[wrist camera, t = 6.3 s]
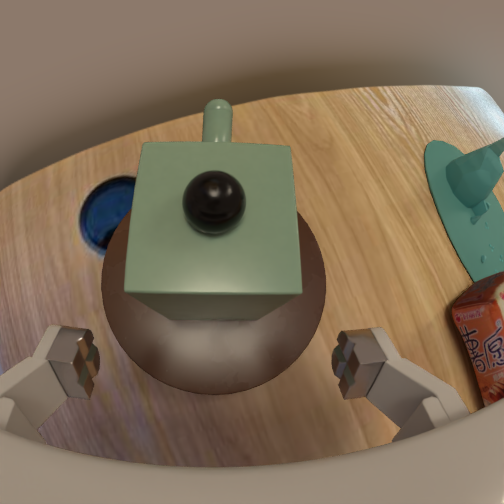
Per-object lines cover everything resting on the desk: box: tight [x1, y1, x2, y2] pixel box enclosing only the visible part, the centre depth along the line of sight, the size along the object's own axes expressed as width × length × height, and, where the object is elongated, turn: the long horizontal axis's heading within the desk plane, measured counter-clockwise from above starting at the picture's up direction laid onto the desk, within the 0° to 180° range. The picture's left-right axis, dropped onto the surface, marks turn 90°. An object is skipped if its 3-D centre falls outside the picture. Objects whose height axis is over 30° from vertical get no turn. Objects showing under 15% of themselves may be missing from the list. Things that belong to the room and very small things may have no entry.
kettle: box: [101, 99, 326, 395], centre depth 14 cm, size 15×15×12 cm
